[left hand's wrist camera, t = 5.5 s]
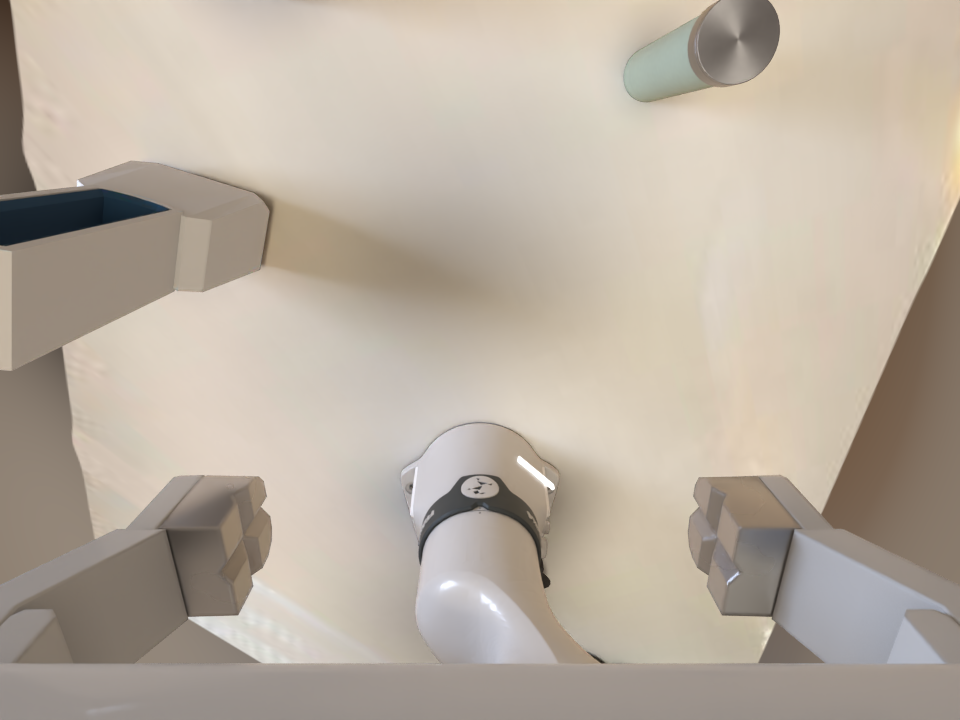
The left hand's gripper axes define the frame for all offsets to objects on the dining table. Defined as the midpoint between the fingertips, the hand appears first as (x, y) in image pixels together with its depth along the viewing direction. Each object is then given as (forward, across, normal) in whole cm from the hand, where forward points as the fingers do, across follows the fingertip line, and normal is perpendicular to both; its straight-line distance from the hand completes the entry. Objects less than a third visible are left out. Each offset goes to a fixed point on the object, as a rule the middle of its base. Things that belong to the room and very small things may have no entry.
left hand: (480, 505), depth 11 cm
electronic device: (+48, -27, 0) cm, 55 cm away
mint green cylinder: (+48, +15, +12) cm, 52 cm away
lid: (+29, +15, +12) cm, 35 cm away
